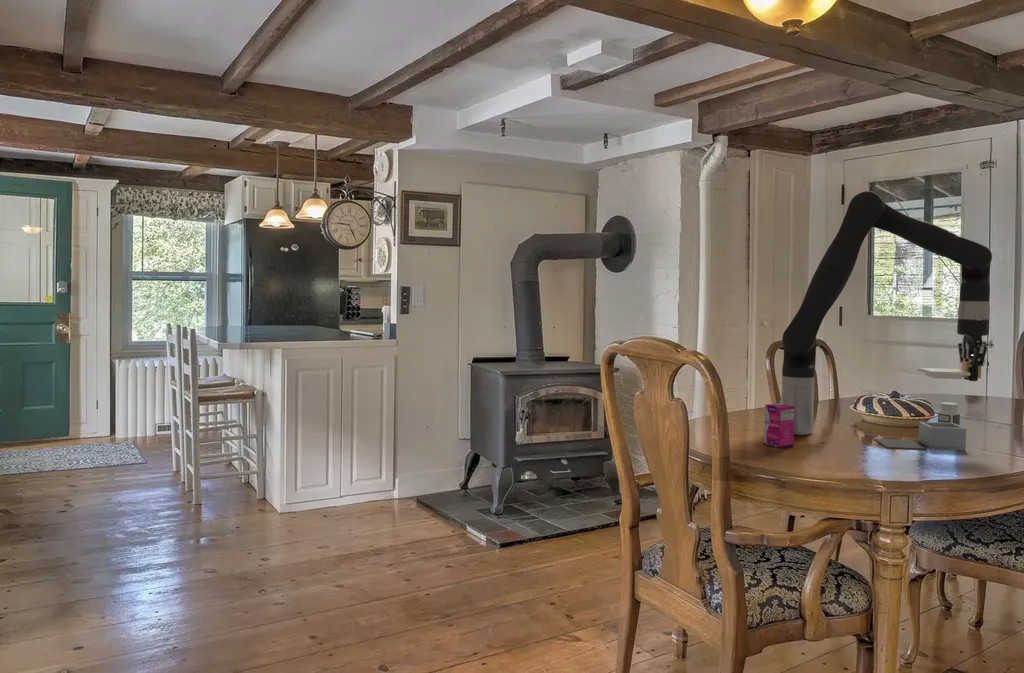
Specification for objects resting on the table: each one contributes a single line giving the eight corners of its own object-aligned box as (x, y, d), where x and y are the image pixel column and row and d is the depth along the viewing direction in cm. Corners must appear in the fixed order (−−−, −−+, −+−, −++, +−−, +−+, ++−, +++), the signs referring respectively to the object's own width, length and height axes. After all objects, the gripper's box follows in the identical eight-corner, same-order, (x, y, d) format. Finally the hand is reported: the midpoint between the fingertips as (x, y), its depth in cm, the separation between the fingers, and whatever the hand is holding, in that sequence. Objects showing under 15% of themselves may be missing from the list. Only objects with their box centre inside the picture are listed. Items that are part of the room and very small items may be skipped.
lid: (930, 378, 210) (931, 361, 210) (918, 374, 219) (918, 358, 219) (986, 380, 207) (987, 363, 207) (971, 376, 217) (972, 360, 217)
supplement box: (762, 444, 215) (764, 404, 215) (778, 442, 218) (779, 402, 218) (778, 448, 210) (779, 407, 210) (794, 446, 213) (795, 405, 212)
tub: (929, 448, 211) (930, 427, 211) (918, 442, 220) (919, 421, 220) (965, 450, 210) (966, 428, 209) (952, 443, 219) (953, 422, 218)
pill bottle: (953, 434, 233) (954, 402, 232) (962, 438, 227) (964, 405, 227) (933, 434, 233) (935, 401, 233) (942, 437, 228) (943, 404, 227)
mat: (887, 448, 212) (887, 446, 212) (873, 440, 223) (874, 438, 223) (926, 449, 210) (926, 448, 210) (910, 441, 222) (910, 440, 222)
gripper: (949, 316, 219) (946, 377, 220) (968, 318, 205) (965, 382, 206) (977, 317, 218) (974, 377, 219) (999, 319, 204) (996, 383, 205)
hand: (970, 380), depth 213 cm, fingers closed on lid, 2 cm apart
